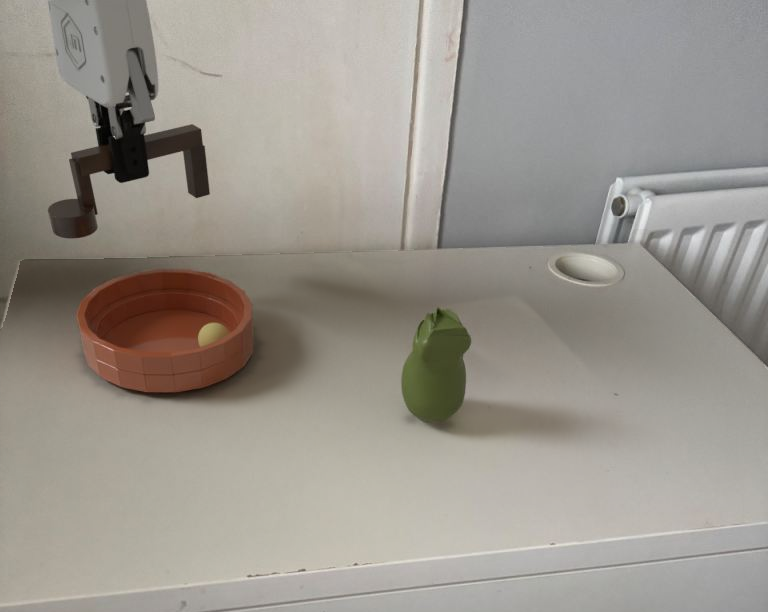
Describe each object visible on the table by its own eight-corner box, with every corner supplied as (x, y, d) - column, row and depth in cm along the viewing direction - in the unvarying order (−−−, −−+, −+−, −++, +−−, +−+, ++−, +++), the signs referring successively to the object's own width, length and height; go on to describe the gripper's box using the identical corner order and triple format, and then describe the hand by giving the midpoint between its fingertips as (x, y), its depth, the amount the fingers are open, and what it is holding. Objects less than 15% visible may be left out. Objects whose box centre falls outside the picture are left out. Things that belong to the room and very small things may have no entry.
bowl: (56, 337, 78) (47, 297, 76) (198, 292, 86) (194, 254, 83) (137, 418, 70) (130, 377, 68) (286, 360, 78) (285, 320, 75)
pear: (447, 393, 76) (461, 294, 69) (471, 427, 73) (488, 327, 66) (390, 402, 74) (399, 302, 68) (412, 438, 71) (423, 336, 64)
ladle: (64, 243, 75) (47, 172, 71) (45, 226, 77) (27, 156, 73) (216, 198, 83) (209, 132, 78) (195, 185, 85) (187, 119, 80)
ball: (193, 319, 76) (204, 342, 79) (193, 343, 74) (204, 365, 77) (224, 312, 76) (235, 335, 78) (225, 336, 74) (236, 358, 77)
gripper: (0, -78, 67) (50, 155, 80) (91, -38, 59) (131, 215, 71) (87, -83, 71) (122, 140, 83) (184, -47, 63) (206, 195, 75)
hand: (126, 173), depth 77 cm, fingers closed on ladle
